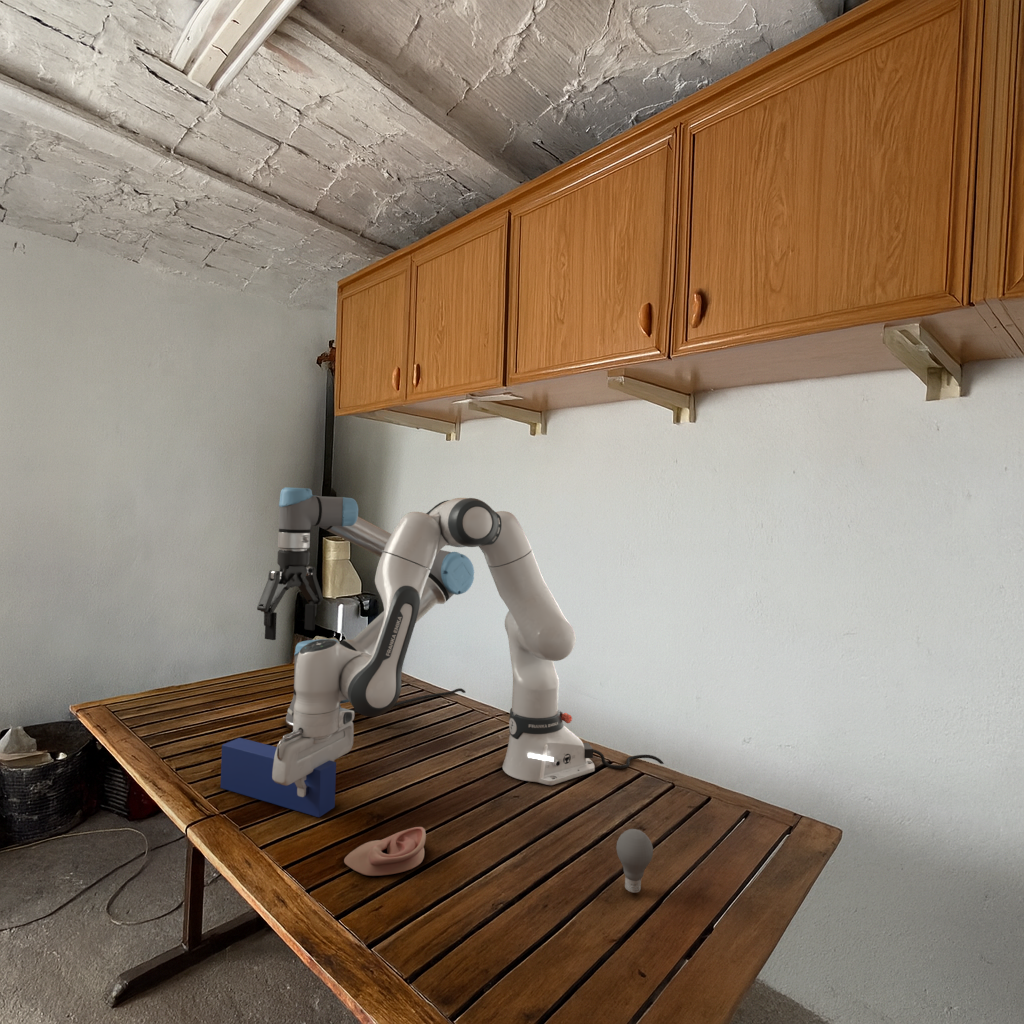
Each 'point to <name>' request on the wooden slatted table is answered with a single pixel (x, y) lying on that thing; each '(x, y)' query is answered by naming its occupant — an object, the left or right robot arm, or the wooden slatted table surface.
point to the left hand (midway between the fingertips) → (290, 634)
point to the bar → (252, 776)
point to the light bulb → (634, 857)
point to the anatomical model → (389, 853)
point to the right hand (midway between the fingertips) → (313, 788)
